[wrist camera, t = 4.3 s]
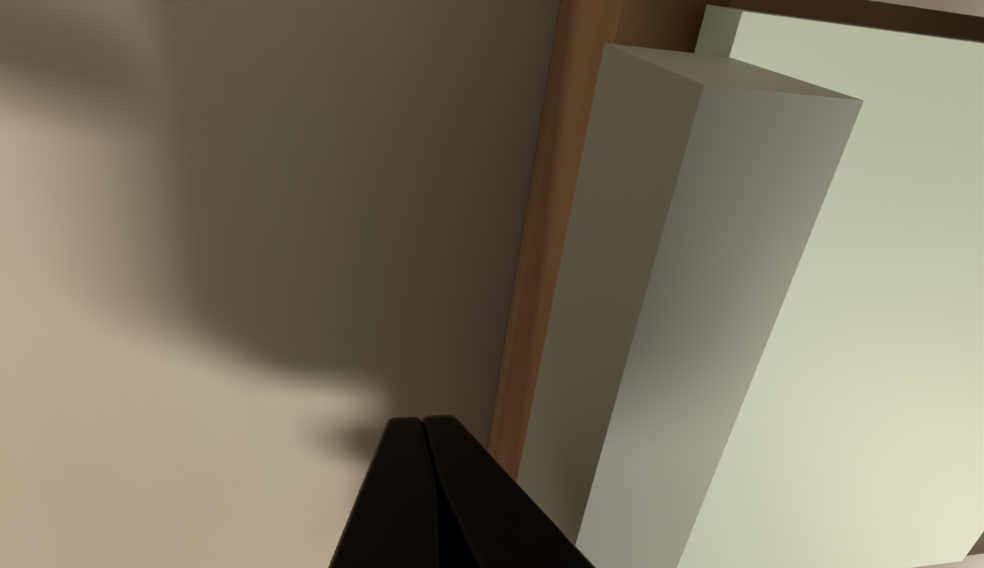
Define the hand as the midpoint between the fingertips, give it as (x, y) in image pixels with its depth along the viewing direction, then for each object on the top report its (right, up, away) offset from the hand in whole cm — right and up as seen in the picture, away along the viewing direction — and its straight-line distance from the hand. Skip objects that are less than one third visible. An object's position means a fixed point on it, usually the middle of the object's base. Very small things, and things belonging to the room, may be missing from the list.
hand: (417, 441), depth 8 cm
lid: (+7, +1, +3) cm, 8 cm away
